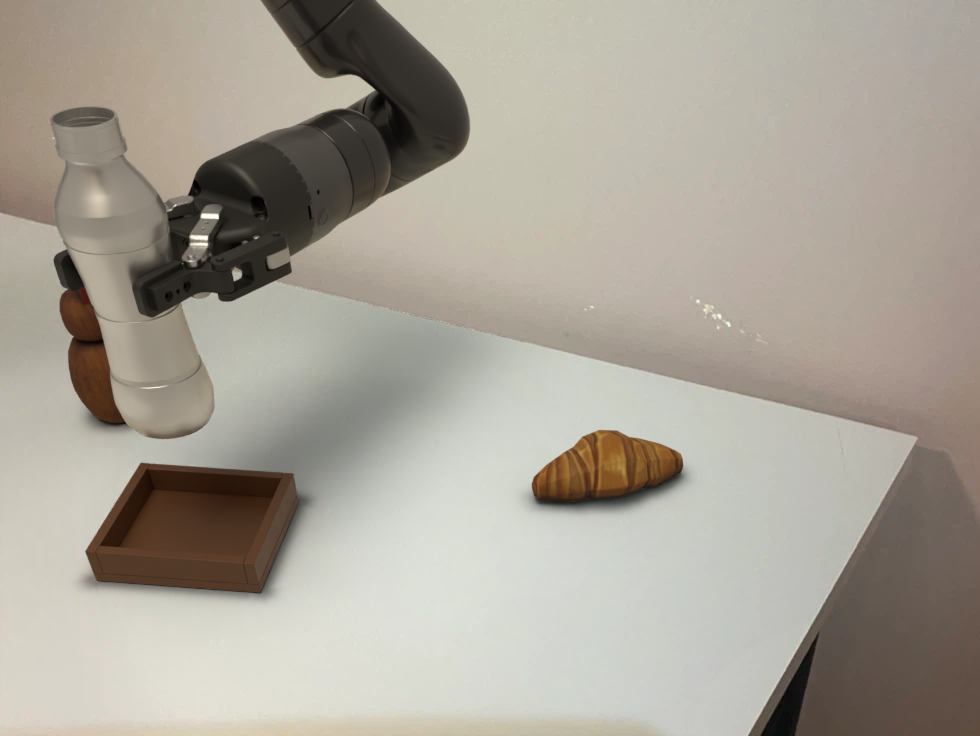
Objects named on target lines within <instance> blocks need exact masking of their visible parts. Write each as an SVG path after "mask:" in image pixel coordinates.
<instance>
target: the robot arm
mask: <svg viewBox="0 0 980 736" xmlns="http://www.w3.org/2000/svg"><path fill="white" fill-rule="evenodd" d="M260 2H261V3H262V5H263V6H264V8H265V9H266V10H267V12H268V13H269V14H270V16H271V18H272V19H273V20H274V22H275V23H276V24H277V26H278V27H279V28H280V30H281V31H282V32H283V34H284V35H285V37H286V38H287V39H288V41H289V42H290V43H291V45H292V47H294V48H295V51H296V52H297V53H298V55H299V56H300V58H301V59H302V60H303V61H304V63H305V64H306V65H307V66H308V68H309V69H310V70H311V71H312V72H313V73H314V74H315V75H316V76H318V77H319V78H321V79H328V80H329V79H330V80H331V79H336V78H341V77H345V76H355V77H358V78H359V79H361V80H362V81H364V82H365V83H366V84H367V85H369V86H370V87H371V88H372V89H374V90H373V91H371V92H370V93H368V94H367V95H365V96H364V97H362V98H360V99H358V100H357V101H355V102H353V103H351V104H350V105H349V106H347V107H345V108H344V107H343V108H342V107H340V108H333V109H329V110H326V111H323V112H320V113H317V114H315V115H314V116H312V117H310V118H307V119H305V120H303V121H301V122H299V123H297V124H294V125H292V126H288V127H283V128H279V129H276V130H271V131H269V132H266V133H265V134H263V135H261V136H258V137H256V138H253V139H252V140H250V141H247V142H244V143H243V144H241V145H238V146H236V147H234V148H232V149H230V150H227V151H226V152H223V153H221V154H218V155H217V156H214V157H211V158H209V159H208V160H206V161H205V162H203V163H202V164H201V165H200V166H199V167H198V168H197V170H196V172H195V174H194V177H193V180H192V183H191V186H190V189H189V192H188V194H187V195H180V196H175V197H171V198H168V199H167V200H166V201H164V204H165V206H166V210H167V215H168V220H169V229H170V237H171V246H172V254H173V260H172V261H170V262H168V263H167V264H165V265H163V266H161V267H159V268H157V269H155V270H153V271H151V272H149V273H148V274H146V275H144V276H142V277H140V278H138V279H136V280H135V281H134V282H133V285H132V290H133V294H134V297H135V301H136V304H137V308H138V311H139V313H140V314H142V315H144V316H147V317H150V318H153V317H155V316H157V315H159V314H161V313H162V312H164V311H166V310H168V309H170V308H172V307H174V306H176V305H177V304H179V303H182V302H184V301H186V300H189V299H190V298H192V299H196V300H200V299H205V298H208V297H209V296H210V295H211V293H212V294H217V298H218V300H219V301H220V302H223V303H229V302H234V301H236V300H239V299H241V298H242V297H244V296H247V295H248V294H250V293H253V292H254V291H258V290H259V289H261V288H264V287H266V286H267V285H269V284H272V283H274V282H276V281H278V280H280V279H282V278H285V277H286V276H289V275H291V274H292V273H293V269H292V263H291V262H292V261H291V257H292V256H294V255H296V254H298V253H300V252H301V251H303V250H304V249H307V248H308V247H309V246H312V245H313V244H315V243H316V242H319V241H320V240H321V239H323V238H324V237H326V236H327V235H329V234H330V233H331V232H332V231H333V230H334V229H335V228H336V227H337V226H339V225H341V224H343V223H344V222H345V221H348V220H349V219H351V218H353V217H354V216H356V215H358V214H360V213H361V212H363V211H364V210H366V209H368V208H369V207H371V206H372V205H373V204H374V203H375V202H377V201H378V200H379V199H381V198H383V197H386V196H387V195H389V194H392V193H393V192H395V191H397V190H399V189H401V188H403V187H405V186H407V185H409V184H411V183H413V182H414V181H417V180H419V179H420V178H422V177H424V176H425V175H427V174H429V173H431V172H433V171H435V170H436V169H438V168H441V167H442V166H444V165H446V164H448V163H450V162H451V161H453V160H454V159H456V158H457V157H459V155H461V154H462V153H463V151H464V150H465V148H466V147H467V145H468V142H469V139H470V134H471V118H470V112H469V108H468V104H467V101H466V98H465V95H464V94H463V92H462V90H461V88H460V86H459V84H458V82H457V80H456V79H455V78H454V77H453V75H452V74H451V72H450V71H449V70H448V69H447V68H446V66H445V65H444V64H443V63H442V62H441V61H440V60H439V59H438V58H437V57H436V56H435V55H434V54H432V52H431V51H429V49H427V48H426V47H425V45H423V44H422V43H421V42H420V41H419V40H418V39H417V38H416V37H415V36H414V35H413V34H412V33H410V31H409V30H407V28H405V26H404V25H402V23H401V22H400V21H398V20H397V19H396V18H395V17H394V16H393V15H392V14H391V13H390V12H389V11H387V10H386V8H384V7H383V6H382V5H381V3H379V2H378V1H377V0H260ZM53 265H54V269H55V272H56V275H57V277H58V280H59V283H60V285H61V287H62V288H64V289H65V290H68V289H69V290H72V291H77V290H79V289H81V288H83V287H85V286H84V283H83V281H82V279H81V277H80V275H79V273H78V271H77V269H76V267H75V265H74V263H73V261H72V259H71V257H70V255H69V253H68V251H67V249H66V248H65V249H64V250H62V251H60V252H57V253H56V254H55V255H54V256H53ZM234 269H237V270H240V271H241V276H240V278H237V280H234V274H233V271H234Z"/></svg>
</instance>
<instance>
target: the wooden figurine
mask: <svg viewBox="0 0 980 736" xmlns="http://www.w3.org/2000/svg"><path fill="white" fill-rule="evenodd" d="M58 303H59V314H60V317H61V320H62V321H61V322H62V323H63V326H64V327H65V330H66V331H67V332H68V333H69V335H70V336H72V338H71V341H70V343H69V346H68V350H67V363H68V372H69V377H70V380H71V383H72V387H73V389H74V392H75V394H76V395H77V396H78V398H79V400H80V402H81V403H82V404H83V405H84V406H85V408H86V409H87V410H88V411H89V413H91V414H92V416H94V417H95V418H97V419H98V420H101V421H103V422H107V423H114V424H120V423H126V422H125V421H124V419H123V417H122V415H121V413H120V412H119V410H118V408H117V406H116V404H115V401H114V396H113V391H112V386H111V378H110V366H109V361H108V357H107V353H106V349H105V345H104V341H103V337H102V332H101V328H100V324H99V322H98V319H97V317H96V314H95V312H94V307H93V305H92V304H91V301H90V299H89V296H88V294H87V291H86V289H85V287H83V288H81V289H79V290H77V291H72V290H69V289H65V290H64V291H63V292H62V293H61V295H60V297H59V302H58Z"/></svg>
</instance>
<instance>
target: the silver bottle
mask: <svg viewBox="0 0 980 736" xmlns="http://www.w3.org/2000/svg"><path fill="white" fill-rule="evenodd" d="M49 121H50V127H51V130H52V133H53V137H54V140H55V145H54V147H55V150H56V153H57V156H58V158H60V159H61V160H63V161H64V164H65V166H64V168H63V171H62V173H61V176H60V179H59V180H58V183H57V186H56V190H55V194H54V197H53V201H52V214H53V215H52V216H53V217H52V218H53V223H54V225H55V227H56V229H57V232H58V235H59V237H60V238H61V240H62V242H63V243H62V244H63V245H64V247H65V250H66V249H67V251H68V253H69V255H70V257H71V259H72V261H73V263H74V265H75V267H76V269H77V271H78V273H79V275H80V277H81V279H82V281H83V283H84V286H85V289H86V291H87V294H88V296H89V299H90V301H91V304H92V305H93V307H94V312H95V314H96V317H97V319H98V322H99V324H100V328H101V332H102V337H103V341H104V345H105V349H106V353H107V357H108V361H109V366H110V378H111V386H112V391H113V396H114V401H115V404H116V406H117V408H118V410H119V412H120V413H121V415H122V417H123V419H124V421H125V422H124V423H126V425H127V426H129V427H130V428H131V429H133V430H134V431H135V432H137V433H138V434H139V435H141V436H144V437H146V438H150V439H154V440H155V439H156V440H171V439H178V438H184V437H187V436H190V435H192V434H195V433H197V432H198V431H200V430H202V429H203V428H204V427H206V426H207V424H208V423H209V422H210V421H211V418H212V416H213V413H214V411H215V408H216V405H215V404H216V403H215V402H216V401H215V389H214V384H213V382H212V379H211V377H210V374H209V372H208V369H207V367H206V365H205V362H204V361H203V359H202V356H201V355H200V354H199V352H198V349H197V345H196V344H195V343H196V342H195V340H194V338H193V335H192V332H191V329H190V327H189V323H188V321H187V318H186V316H185V313H184V308H183V303H182V302H181V303H179V304H177V305H176V306H174V307H172V308H170V309H168V310H166V311H164V312H162V313H161V314H159V315H157V316H155V317H153V318H150V317H147V316H144V315H142V314H140V313H139V311H138V308H137V304H136V301H135V297H134V294H133V290H132V285H133V282H134V281H135V280H136V279H138V278H140V277H142V276H144V275H146V274H148V273H149V272H151V271H153V270H155V269H157V268H159V267H161V266H163V265H165V264H167V263H168V262H170V261H172V260H173V254H172V246H171V237H170V229H169V220H168V215H167V210H166V206H165V204H164V203H165V201H163V199H162V197H161V195H160V193H159V191H158V189H157V188H156V187H155V186H154V185H153V184H152V183H151V181H150V180H149V179H148V178H147V177H146V176H145V175H144V174H143V173H142V172H141V171H140V170H139V169H138V168H137V167H136V166H135V165H133V163H132V162H130V161H129V160H128V159H127V157H126V155H125V153H127V151H128V148H129V146H128V142H127V139H126V137H125V136H124V135H123V129H122V125H121V122H120V117H119V116H118V113H117V111H115V110H114V109H112V108H109V107H104V106H97V105H96V106H95V105H94V106H93V105H89V106H76V107H70V108H67V109H62V110H60V111H58V112H56V113H54V114H52V115H51V116H50V118H49Z"/></svg>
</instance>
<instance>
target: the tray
mask: <svg viewBox="0 0 980 736" xmlns="http://www.w3.org/2000/svg"><path fill="white" fill-rule="evenodd" d="M299 501H300V500H299V496H298V491H297V485H296V479H295V473H293V472H281V471H266V470H265V471H264V470H250V469H237V468H224V467H223V468H220V467H208V466H207V467H206V466H194V465H192V466H191V465H180V464H179V465H178V464H165V463H151V462H149V463H148V462H140V463H139V465H138V466H137V468H136V470H135V471H134V473H133V474H132V476H131V477H130V479H129V480H128V482H127V484H126V485H125V487H124V488H123V490H122V491H121V494H120V495H119V496H118V498H117V500H116V501H115V503H114V504H113V506H112V507H111V508H110V510H109V513H108V514H107V515H106V518H104V520H103V522H102V523H101V525H100V527H99V529H98V530H97V532H96V533H95V535H94V536H93V538H92V539H91V541H90V543H89V544H88V546H87V548H86V549H85V551H84V552H85V555H86V557H87V560H88V563H89V565H90V568H91V570H92V571H91V572H93V575H94V578H95V580H96V581H98V582H100V581H101V582H110V583H123V584H124V583H126V584H139V585H150V586H151V585H152V586H165V587H178V588H190V589H204V590H205V589H206V590H218V591H230V592H231V591H232V592H245V593H246V592H247V593H258V594H260V593H261V592H262V590H263V588H264V586H265V583H266V581H267V579H268V575H269V574H270V571H271V569H272V566H273V564H274V561H275V560H276V557H277V554H278V552H279V550H280V548H281V545H282V543H283V540H284V538H285V535H286V533H287V530H288V528H289V526H290V524H291V521H292V519H293V516H294V514H295V511H296V509H297V507H298V504H299Z"/></svg>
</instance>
